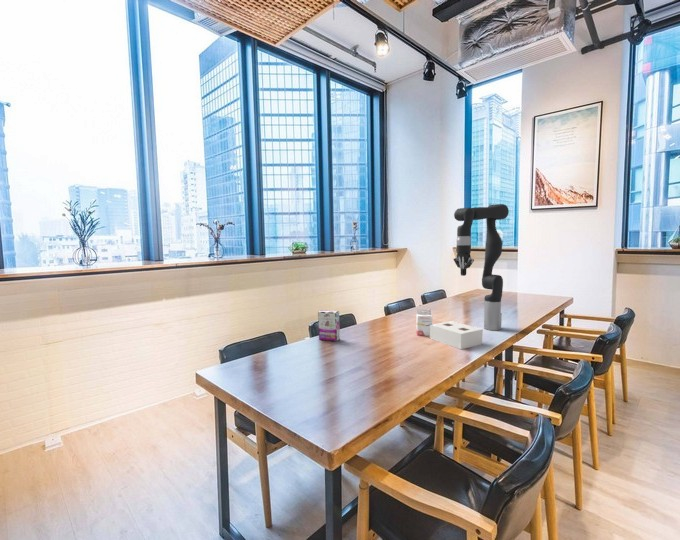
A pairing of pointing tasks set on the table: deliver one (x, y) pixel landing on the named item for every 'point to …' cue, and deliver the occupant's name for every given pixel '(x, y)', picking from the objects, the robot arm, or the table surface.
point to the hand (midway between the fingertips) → (463, 275)
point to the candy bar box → (329, 325)
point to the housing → (456, 334)
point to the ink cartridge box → (423, 322)
